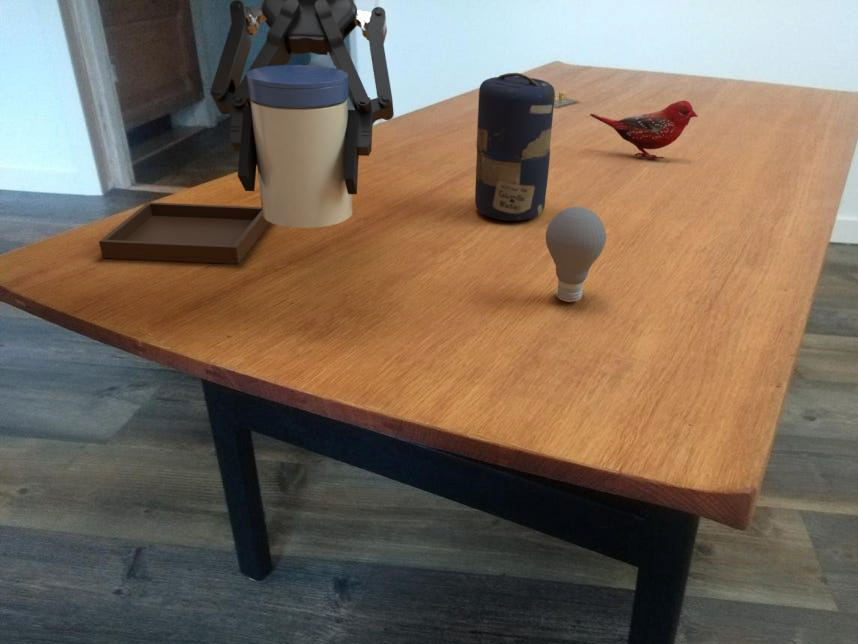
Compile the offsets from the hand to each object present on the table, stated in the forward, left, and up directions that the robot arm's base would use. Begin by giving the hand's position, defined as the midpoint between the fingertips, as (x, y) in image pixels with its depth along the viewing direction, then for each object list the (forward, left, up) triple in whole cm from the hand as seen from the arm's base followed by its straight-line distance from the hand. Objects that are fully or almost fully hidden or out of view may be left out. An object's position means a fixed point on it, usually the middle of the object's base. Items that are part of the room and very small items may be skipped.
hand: (298, 185), depth 63 cm
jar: (0, +3, -4) cm, 5 cm away
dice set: (+29, +110, -14) cm, 114 cm away
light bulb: (+25, +10, -14) cm, 30 cm away
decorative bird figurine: (+41, +67, -14) cm, 79 cm away
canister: (+19, +36, -14) cm, 43 cm away
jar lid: (0, +3, +8) cm, 9 cm away
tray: (-19, +22, -14) cm, 32 cm away
